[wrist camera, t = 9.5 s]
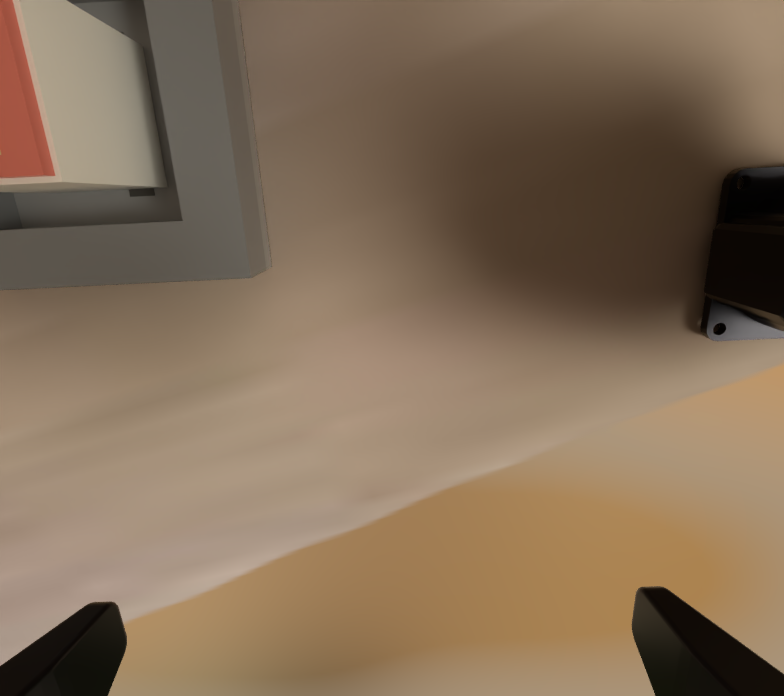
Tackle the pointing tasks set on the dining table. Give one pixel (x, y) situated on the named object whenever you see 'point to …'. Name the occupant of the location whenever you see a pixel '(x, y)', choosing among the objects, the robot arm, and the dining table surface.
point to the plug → (73, 103)
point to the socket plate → (181, 164)
